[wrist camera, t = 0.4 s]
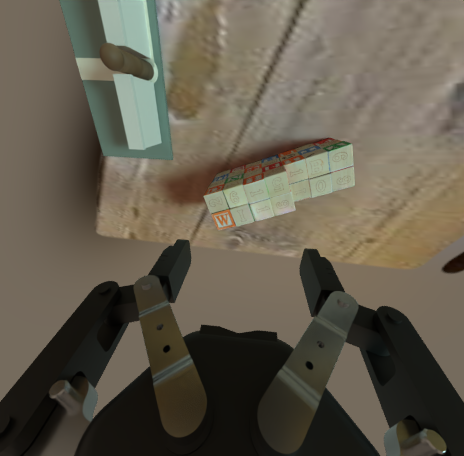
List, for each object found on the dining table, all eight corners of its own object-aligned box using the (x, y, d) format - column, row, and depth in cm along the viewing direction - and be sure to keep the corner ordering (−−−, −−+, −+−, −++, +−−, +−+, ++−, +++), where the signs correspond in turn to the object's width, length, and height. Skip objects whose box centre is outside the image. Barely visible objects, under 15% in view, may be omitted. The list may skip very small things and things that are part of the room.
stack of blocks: (330, 136, 34) (365, 146, 23) (333, 171, 36) (365, 194, 26) (216, 173, 39) (201, 196, 28) (226, 201, 42) (217, 231, 31)
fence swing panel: (140, 81, 32) (112, 73, 25) (154, 81, 31) (129, 74, 25) (150, 143, 36) (129, 149, 30) (162, 143, 36) (143, 149, 30)
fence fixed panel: (123, -32, 26) (81, -79, 19) (140, -32, 26) (102, -79, 19) (137, 59, 30) (107, 45, 24) (152, 59, 30) (125, 45, 24)
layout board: (43, -63, 25) (39, -67, 25) (147, -65, 24) (145, -69, 24) (104, 155, 39) (103, 155, 39) (173, 159, 38) (172, 160, 38)
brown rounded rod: (138, 60, 31) (90, 39, 22) (154, 61, 31) (113, 39, 22) (141, 81, 32) (98, 68, 23) (157, 81, 32) (119, 69, 23)
